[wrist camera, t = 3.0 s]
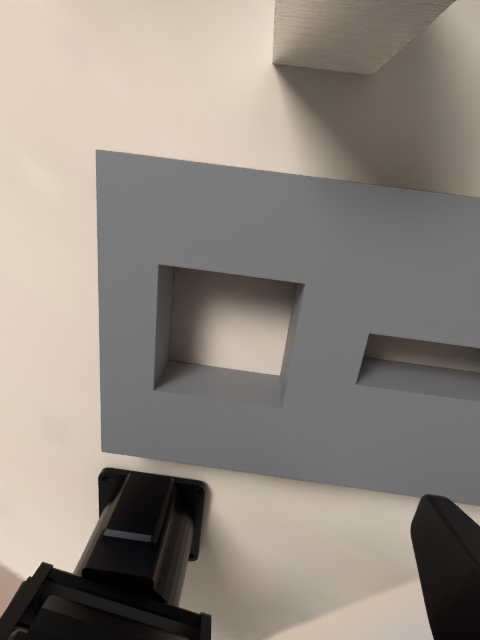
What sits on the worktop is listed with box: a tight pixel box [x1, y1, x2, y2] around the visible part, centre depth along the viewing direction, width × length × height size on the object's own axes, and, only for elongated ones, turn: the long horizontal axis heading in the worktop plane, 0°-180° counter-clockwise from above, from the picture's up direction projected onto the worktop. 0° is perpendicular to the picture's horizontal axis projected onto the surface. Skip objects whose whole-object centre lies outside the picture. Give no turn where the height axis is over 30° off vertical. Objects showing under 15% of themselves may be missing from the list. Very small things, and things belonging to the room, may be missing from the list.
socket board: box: [96, 150, 480, 506], centre depth 18 cm, size 14×20×3 cm
